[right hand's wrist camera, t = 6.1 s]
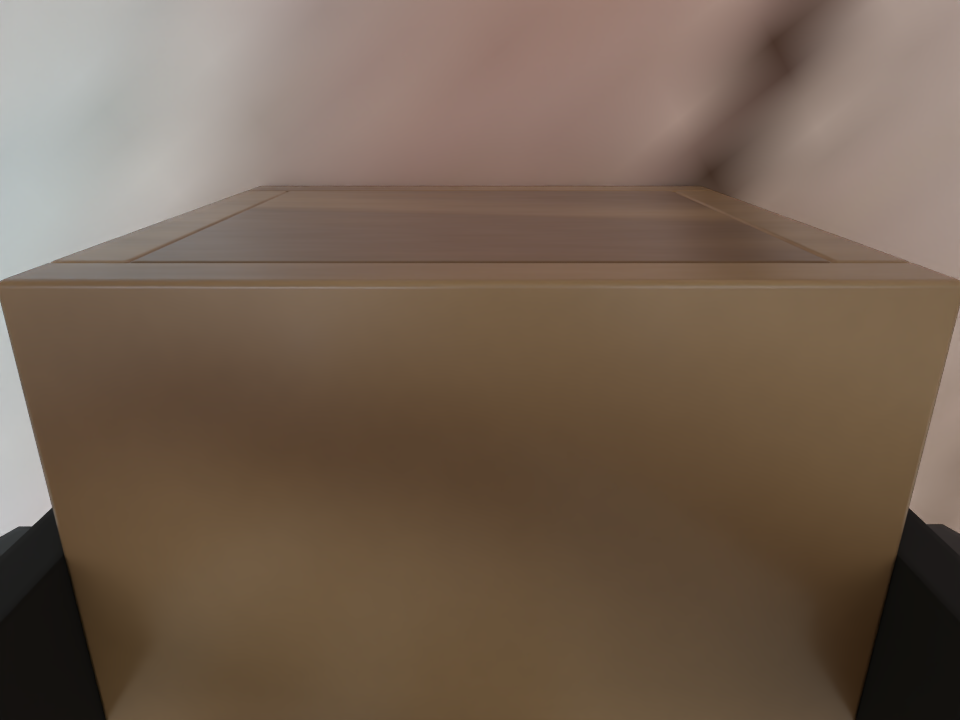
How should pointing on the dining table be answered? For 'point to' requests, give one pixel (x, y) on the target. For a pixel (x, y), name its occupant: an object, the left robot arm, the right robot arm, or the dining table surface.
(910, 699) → the right robot arm
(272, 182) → the dining table surface
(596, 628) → the wooden recessed-top box
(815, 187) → the dining table surface
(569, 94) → the dining table surface
